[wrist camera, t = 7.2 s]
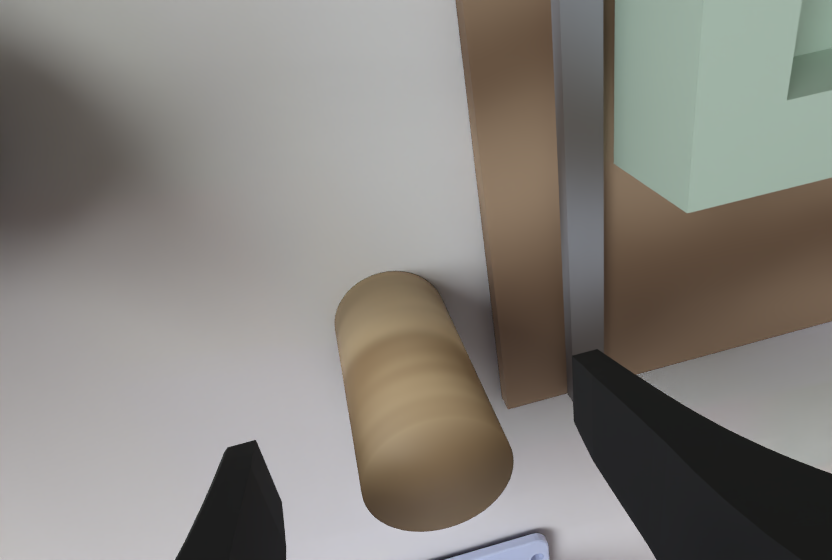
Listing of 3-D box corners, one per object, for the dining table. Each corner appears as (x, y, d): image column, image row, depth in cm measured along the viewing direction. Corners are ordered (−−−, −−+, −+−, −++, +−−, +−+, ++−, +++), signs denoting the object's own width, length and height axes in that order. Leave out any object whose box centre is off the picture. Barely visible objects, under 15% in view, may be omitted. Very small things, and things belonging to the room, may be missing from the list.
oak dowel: (450, 349, 19) (519, 507, 14) (348, 376, 18) (378, 547, 13) (436, 259, 17) (506, 400, 12) (322, 287, 17) (345, 443, 12)
